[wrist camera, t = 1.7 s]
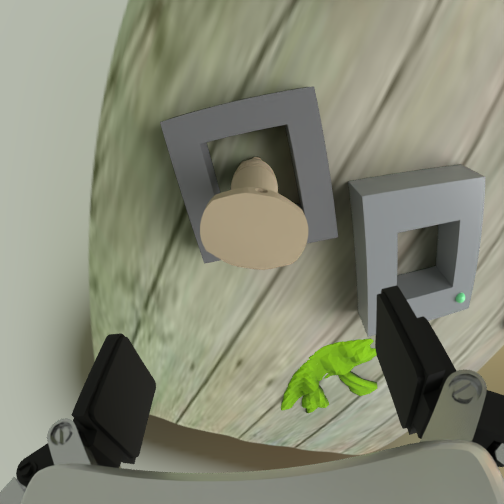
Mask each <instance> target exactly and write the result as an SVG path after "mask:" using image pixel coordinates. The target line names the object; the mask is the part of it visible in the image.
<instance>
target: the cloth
mask: <svg viewBox="0 0 504 504" xmlns="http://www.w3.org/2000/svg"><path fill="white" fill-rule="evenodd" d="M373 342H374V341H373V340H372V339H364V340H354V341H347V342H338V343H334V344H330V345H327V346H324V347H322V348H321V349H320V350H318V351H317V352H315V354H314V355H312V356H310V357H309V359H310V360H307V362H306V363H304V364H303V365H302V366H301V367H300V369H298V371H297V372H296V373H295V374H294V375H293V376H292V379H291V381H290V383H289V384H288V388H287V390H286V392H285V394H284V399H283V402H282V404H281V410H286V409H290V408H291V407H292V406H293V405H294V403H295V402H296V401H297V400H298V399H299V398H300V397H301V396H303V395H304V396H303V398H302V407H303V408H306V413H311V412H313V411H314V410H315V409H317V408H318V407H320V408H326V407H327V406H328V405H329V402H328V400H327V398H326V396H325V395H324V392H323V390H322V388H321V387H320V386H319V381H320V380H322V377H323V376H324V375H325V374H326V373H328V374H327V375H326V376H325V377H324V378H328V377H329V376H332V375H338V376H339V378H340V380H341V381H343V382H344V383H345V384H346V385H347V386H349V389H350V391H352V392H354V393H355V394H357V395H359V396H362V395H366V394H370V393H371V392H373V391H374V390H376V389H377V383H376V382H372V381H367V380H364V379H362V378H361V377H359V376H358V375H356V374H355V373H353V372H351V370H352V369H353V367H355V366H357V365H359V364H362V363H364V362H367V361H370V360H372V358H373V357H375V356H376V355H377V354H376V349H374V348H370V345H371V344H372V343H373Z"/></svg>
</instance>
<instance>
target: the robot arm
mask: <svg viewBox="0 0 504 504" xmlns="http://www.w3.org/2000/svg"><path fill="white" fill-rule="evenodd" d="M375 348H376V354H377V357H378V360H379V363H380V365H381V368H382V371H383V374H384V376H385V379H386V382H387V385H388V388H389V390H390V393H391V396H392V399H393V402H394V405H395V408H396V411H397V414H398V417H399V420H400V423H401V426H402V428H403V429H404V428H407V429H408V432H409V435H410V434H413V433H417V434H418V437H419V438H420V439H421V441H420V442H419V443H414V444H408V445H404V446H400V447H396V448H391V449H387V450H382V451H379V452H374V453H370V454H366V455H361V456H357V457H352V458H348V459H342V460H336V461H331V462H326V463H320V464H314V465H307V466H300V467H293V468H284V469H275V470H265V471H252V472H235V473H171V472H155V471H142V470H131V469H122V468H121V467H120V464H121V462H123V463H130V464H134V463H135V459H136V457H138V456H139V453H140V449H141V445H142V441H143V437H144V433H145V428H146V424H147V420H148V416H149V412H150V409H151V405H152V401H153V397H154V393H155V389H156V383H155V380H154V379H153V377H152V376H151V374H150V372H149V371H148V369H147V368H146V366H145V365H144V363H143V362H142V360H141V358H140V357H139V355H138V354H137V352H136V350H135V349H134V347H133V345H132V344H131V342H130V340H129V339H128V338H127V337H125V336H124V335H123V334H111V335H108V336H107V337H106V339H105V341H104V343H103V345H102V348H101V350H100V352H99V354H98V356H97V358H96V360H95V362H94V365H93V367H92V369H91V371H90V373H89V375H88V378H87V380H86V382H85V385H84V387H83V389H82V392H81V394H80V396H79V398H78V401H77V403H76V405H75V408H74V410H73V413H72V416H73V417H74V419H73V421H72V420H70V419H61V420H58V421H57V422H56V423H54V424H53V425H52V427H51V428H50V429H49V432H48V435H47V439H48V444H46V445H45V446H43V447H42V448H40V449H39V450H37V451H35V452H34V453H32V454H31V455H29V456H28V457H26V458H25V459H23V461H21V462H20V464H19V465H18V468H17V473H16V474H17V479H16V478H15V477H14V478H13V479H12V480H11V481H10V482H9V483H8V484H7V485H6V486H5V487H4V489H3V490H2V491H1V492H0V504H504V479H503V477H502V475H501V473H500V471H499V468H498V467H504V395H500V394H498V393H494V392H491V391H488V390H487V387H486V383H485V381H484V379H483V378H482V376H480V375H479V374H478V373H476V372H474V371H471V370H459V371H456V369H455V368H454V366H453V364H452V362H451V360H450V358H449V357H448V355H447V353H446V351H445V349H444V348H443V346H442V344H441V342H440V341H439V339H438V337H437V335H436V334H435V332H434V330H433V329H432V327H431V325H430V324H429V322H428V320H427V319H426V318H425V317H424V316H422V317H418V318H417V317H416V315H415V313H414V312H413V310H412V308H411V307H410V305H409V303H408V302H407V300H406V298H405V297H404V295H403V293H402V292H401V290H400V288H399V287H398V286H397V285H396V286H392V287H388V288H384V289H382V290H381V293H380V294H377V310H376V344H375Z"/></svg>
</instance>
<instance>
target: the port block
mask: <svg viewBox="0 0 504 504" xmlns="http://www.w3.org/2000/svg"><path fill="white" fill-rule="evenodd" d="M348 185H349V194H350V203H351V212H352V222H353V233H354V245H355V259H356V275H357V296H358V313H359V315H360V318H361V320H362V323H363V325H364V328H365V331H366V333H367V336H372V335H376V310H377V294H380V293H381V290H382V289H384V288H388V287H392V286H396V285H397V286H398V287H399V288H400V290H401V292H402V293H403V295H404V297H405V298H406V300H407V302H408V303H409V305H410V307H411V308H412V310H413V312H414V313H415V315H416V317H417V318H418V317H422V316H424V317H425V318H426V319H427V320H428V321H429V320H432V319H436V318H439V317H442V316H446V315H449V314H452V313H455V312H458V311H461V310H464V309H467V308H469V304H470V299H471V295H472V290H473V285H474V279H475V274H476V268H477V262H478V255H479V248H480V240H481V232H482V222H483V211H484V196H485V176H483V175H481V174H479V173H477V172H475V171H473V170H471V169H469V168H467V167H465V166H463V165H453V166H445V167H438V168H430V169H423V170H416V171H409V172H402V173H396V174H389V175H383V176H377V177H370V178H364V179H358V180H352V181H348ZM433 225H438V243H437V257H436V266H434V267H430V268H426V269H422V270H418V271H414V272H410V273H406V274H401V275H397V233H399V232H404V231H409V230H414V229H419V228H423V227H428V226H433Z"/></svg>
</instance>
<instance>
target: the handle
mask: <svg viewBox="0 0 504 504" xmlns="http://www.w3.org/2000/svg"><path fill="white" fill-rule="evenodd" d="M200 236H201V241H202V243H203V246H204V247H205V249H206V251H208V252H209V253H211V254H213V255H214V256H216V257H218V258H219V259H221V260H223V261H224V262H226V263H229V264H231V265H234V266H238V267H244V268H250V269H259V270H265V269H272V268H277V267H281V266H285V265H289V264H292V263H294V262H295V261H296V260H297V259H298V258H299V257H300V256H301V254H302V252H303V251H304V249H305V246H306V243H307V239H308V224H307V220H306V218H305V215H304V213H303V210H302V209H301V208H299V207H298V206H297V205H296V204H294V203H293V202H291V201H290V200H289V199H287V198H285V197H284V196H282V195H280V194H279V193H278V184H277V180H276V176H275V174H274V172H273V170H272V169H271V167H270V166H269V165H268V164H267V163H266V162H264V161H262V160H261V158H260V157H253V158H252V159H249V160H246V161H242V162H241V164H240V165H239V167H238V168H237V170H236V171H235V173H234V175H233V178H232V183H231V190H229V191H225V192H222V193H219V194H216V195H215V196H214V197H213V198H212V199H211V200H210V201H209V203H208V204H207V206H206V208H205V211H204V213H203V216H202V219H201V224H200Z"/></svg>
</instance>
